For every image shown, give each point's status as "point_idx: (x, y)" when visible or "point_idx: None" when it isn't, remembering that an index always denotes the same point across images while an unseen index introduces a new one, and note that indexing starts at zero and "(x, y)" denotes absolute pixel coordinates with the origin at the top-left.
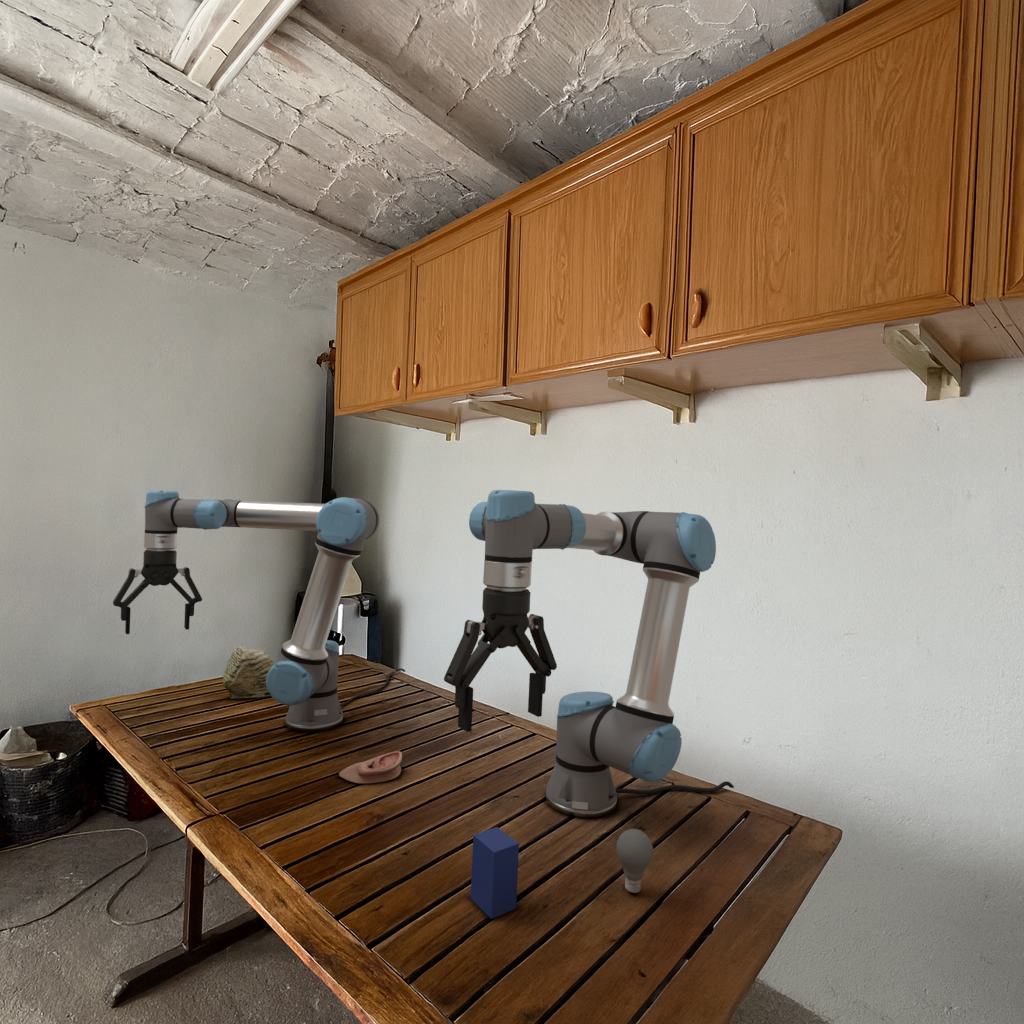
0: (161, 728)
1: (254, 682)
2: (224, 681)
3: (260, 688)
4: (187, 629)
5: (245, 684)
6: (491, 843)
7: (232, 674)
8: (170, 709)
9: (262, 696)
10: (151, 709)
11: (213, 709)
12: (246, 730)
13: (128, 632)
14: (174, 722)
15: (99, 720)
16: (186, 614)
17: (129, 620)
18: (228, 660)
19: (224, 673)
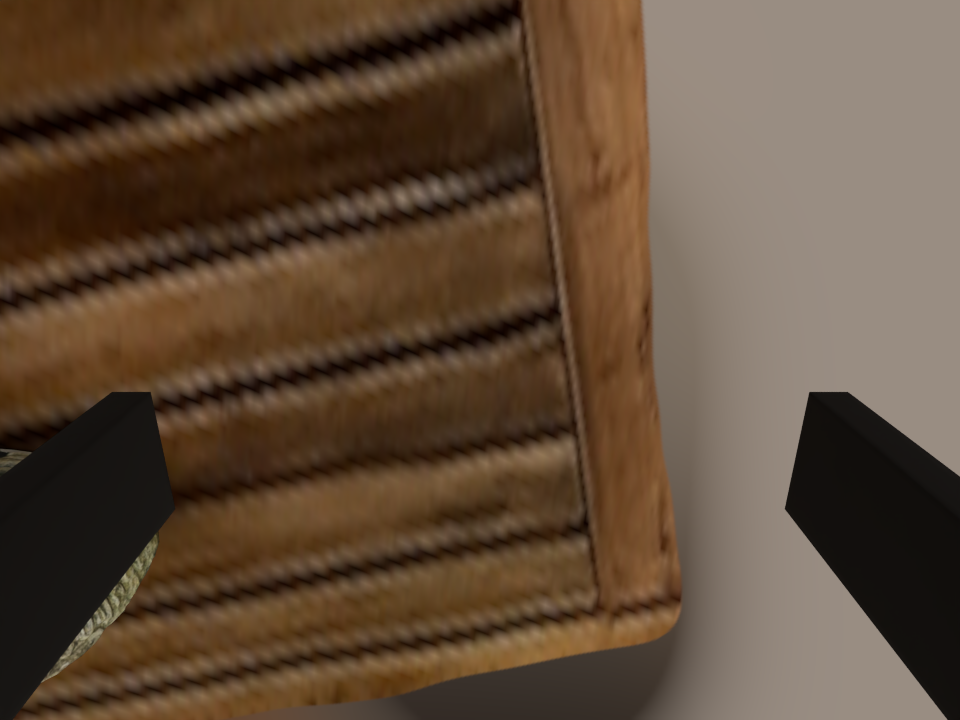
0: (450, 250)
1: None
2: None
3: (2, 471)
4: (133, 393)
5: None
6: None
7: None
8: (393, 465)
9: (19, 451)
10: (458, 495)
11: (231, 390)
12: (99, 23)
13: (833, 402)
14: (394, 300)
15: (643, 455)
16: (9, 522)
17: (935, 490)
18: (78, 653)
19: (130, 590)
